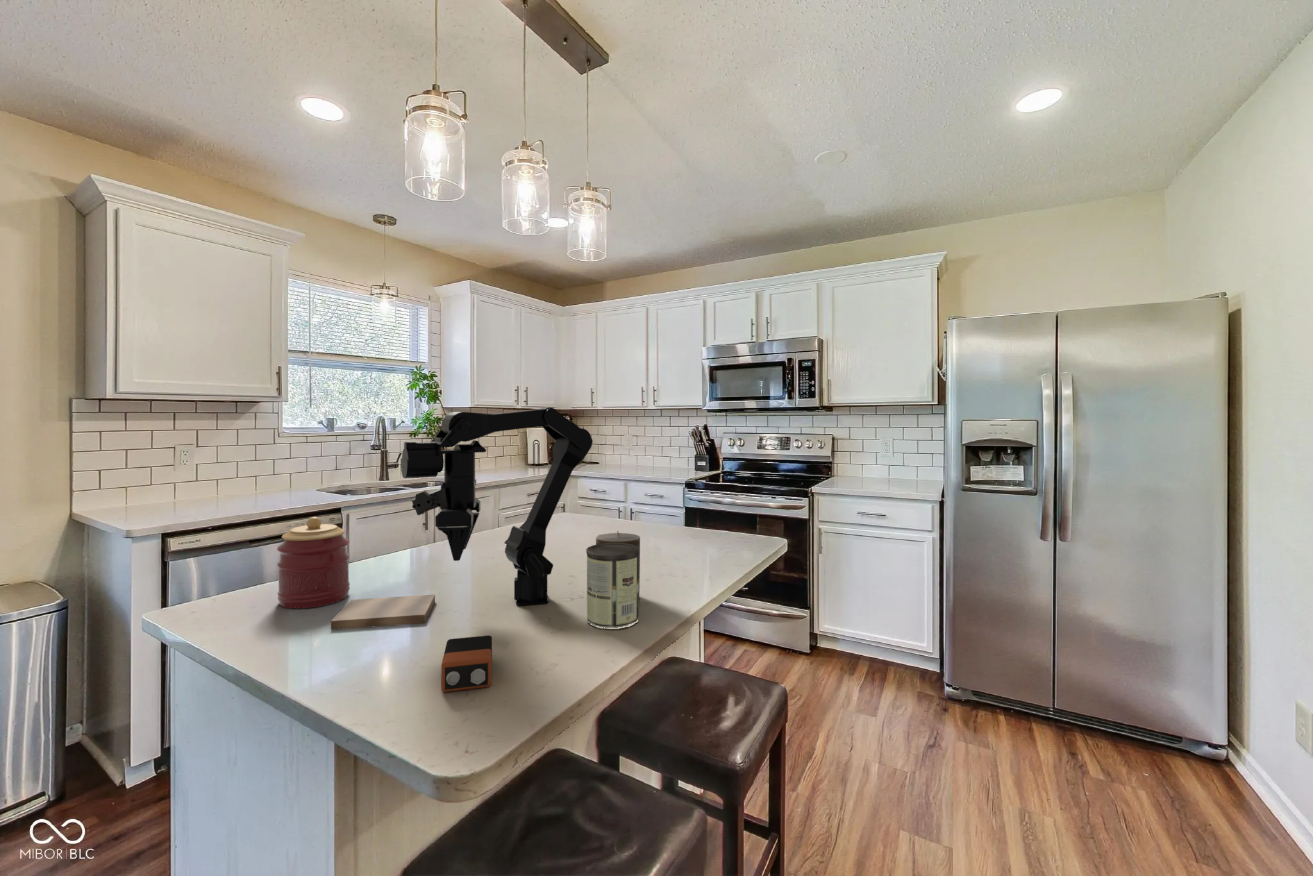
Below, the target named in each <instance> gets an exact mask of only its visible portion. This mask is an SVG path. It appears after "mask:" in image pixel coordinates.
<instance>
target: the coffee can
mask: <svg viewBox="0 0 1313 876" xmlns="http://www.w3.org/2000/svg"><path fill="white" fill-rule="evenodd" d="M585 552H586V553H585V554H586V623H587V622H589V623H590V624H592V625H594V626H599V627H603V628H604V627H605V628H618V627H623V626H628V625H629V624H632V623H634V622H636V621H637V620H638V617H639V614H640V613H639V612H640V611H639V610H640V609H639V607H640V605H639V603H640V602H639V601H640V588H639V552H640V553H641V547H640V548H639V547H637V546H635V545H632V544H626V543H603V544H596V543H595V544H593V545H590V546H588V547H587V548H586V549H585ZM639 618H640V617H639Z"/></svg>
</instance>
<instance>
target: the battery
mask: <svg viewBox="0 0 1313 876" xmlns="http://www.w3.org/2000/svg"><path fill="white" fill-rule="evenodd" d="M440 666H441V668H440V669H441V671H440V672H441V673H440V674H441V675H440V677H441V680H440V681H441V684H440V686H441V689H440V690H441V692H443V693H448V692H450V693H451V692H458V691H465V690H474V689H482V688H488V687H490V686H491V685H492V677H493V676H492V675H493V674H492V670H493V637H492V635H490V634H489V635H479V636H469V637H468V636H467V637H458V638H457V637H456V638H449V639H447V641H446V644H445V649H444V652H443V657H442V661H441V665H440Z"/></svg>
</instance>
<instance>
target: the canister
mask: <svg viewBox="0 0 1313 876" xmlns="http://www.w3.org/2000/svg"><path fill="white" fill-rule="evenodd" d="M345 533H346V531H345V529H343V528H341V527H339V526H338V525H337V524H330V523H322V520H321V519H320V518H319V517H317V516H311V517H309V518H308V520H307V521H306V525H301V526H296V527H293V528H291V529H289V531H288V532H285V533H284V534H282V536H281V539H283V540H284V541H283V543H281V544H279V545H278V546H277V548H276V551H278V552H279V553H280V556H279V561H278V562H277V564H276V565H277V570H278V572H277V573H278V576H277V577H278V591H277V600H278V603H279V606H280V607H282V608H285V609H293V608H296V610H297V608H301V609H312V608H318V607H317V606H319V607H323V605H324V606H327V605H326V604H328V605H332V604H334V603H335V604H336V603H338V602H340V601H342V600H344V599H346V598H347V597H349V591H350V589H351V588H350V585H351V584H350V581H349V579H350V577H349V574H350V573H349V572H350V571H349V567H350V566H349V562H350V561H349V559H350V554H349V553H348V551H347V550H348V549H347V548H348V547H347V546H348V545H349V544H350V540H349V539H347V538H346V537H344V536H343V534H345ZM345 597H346V598H345ZM337 601H338V602H337ZM331 603H332V604H331ZM311 607H312V608H311Z"/></svg>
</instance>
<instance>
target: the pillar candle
mask: <svg viewBox="0 0 1313 876" xmlns="http://www.w3.org/2000/svg"><path fill="white" fill-rule="evenodd" d="M603 543H626V544H632V545H635V546H637V547H639V548H640V549H641V537H640V535H638V534H634V533H627V532H625V533H624V532H619V530H617V532H611V533H603V534H597V535H596V537H595V545H596V544H603ZM640 574H641V551H640V552H639V589H640V587H641V586H640V585H641V584H640V581H641V578H640V577H641V575H640Z"/></svg>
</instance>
